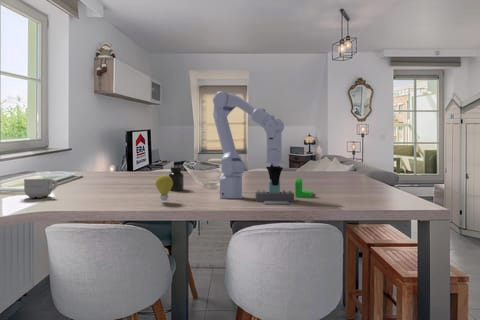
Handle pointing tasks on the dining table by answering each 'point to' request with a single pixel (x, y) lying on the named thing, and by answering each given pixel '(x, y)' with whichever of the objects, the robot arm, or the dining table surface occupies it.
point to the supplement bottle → (177, 179)
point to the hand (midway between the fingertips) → (274, 184)
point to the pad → (275, 202)
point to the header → (274, 196)
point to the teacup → (39, 187)
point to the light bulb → (164, 186)
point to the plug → (274, 187)
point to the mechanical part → (299, 192)
